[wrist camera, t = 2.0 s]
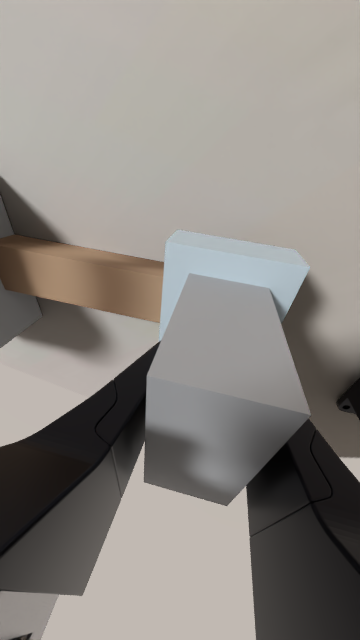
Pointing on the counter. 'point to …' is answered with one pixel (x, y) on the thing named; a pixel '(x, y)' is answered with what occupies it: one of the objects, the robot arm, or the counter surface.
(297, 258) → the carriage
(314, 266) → the counter surface
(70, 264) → the rail
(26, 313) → the grey rectangular block
